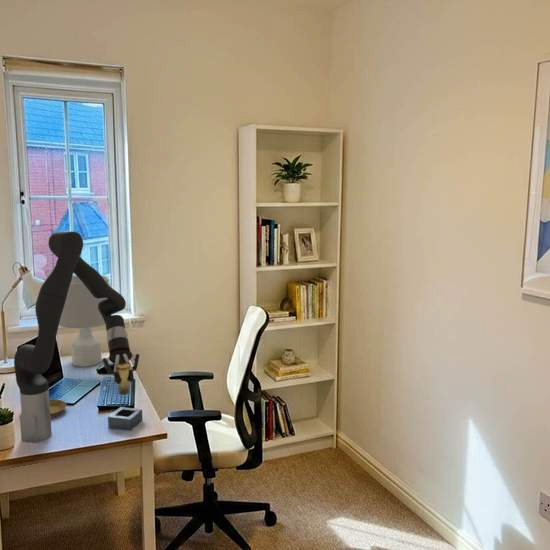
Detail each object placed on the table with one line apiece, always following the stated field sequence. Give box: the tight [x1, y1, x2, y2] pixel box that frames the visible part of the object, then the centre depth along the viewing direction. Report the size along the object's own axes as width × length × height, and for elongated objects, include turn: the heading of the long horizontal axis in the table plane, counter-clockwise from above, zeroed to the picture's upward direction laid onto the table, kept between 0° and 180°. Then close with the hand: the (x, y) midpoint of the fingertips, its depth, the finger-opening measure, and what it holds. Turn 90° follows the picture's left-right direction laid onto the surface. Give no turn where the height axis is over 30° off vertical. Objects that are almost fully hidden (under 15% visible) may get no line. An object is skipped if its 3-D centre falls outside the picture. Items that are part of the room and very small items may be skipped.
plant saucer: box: [49, 399, 67, 418], centre depth 210 cm, size 15×15×3 cm
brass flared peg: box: [116, 362, 131, 396], centre depth 197 cm, size 5×5×11 cm
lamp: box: [59, 274, 110, 368], centre depth 266 cm, size 24×24×42 cm
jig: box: [107, 406, 143, 432], centre depth 200 cm, size 9×9×4 cm
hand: (124, 381), depth 196 cm, fingers closed on brass flared peg, 4 cm apart
